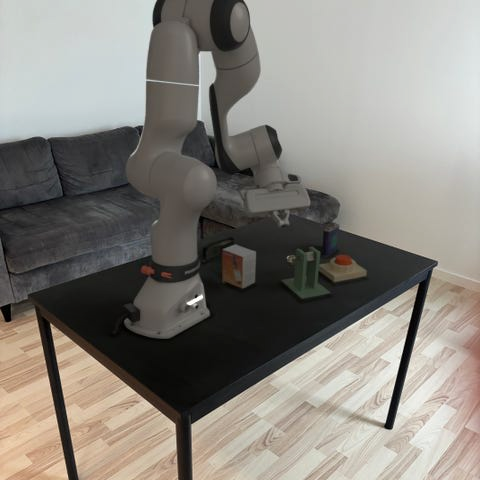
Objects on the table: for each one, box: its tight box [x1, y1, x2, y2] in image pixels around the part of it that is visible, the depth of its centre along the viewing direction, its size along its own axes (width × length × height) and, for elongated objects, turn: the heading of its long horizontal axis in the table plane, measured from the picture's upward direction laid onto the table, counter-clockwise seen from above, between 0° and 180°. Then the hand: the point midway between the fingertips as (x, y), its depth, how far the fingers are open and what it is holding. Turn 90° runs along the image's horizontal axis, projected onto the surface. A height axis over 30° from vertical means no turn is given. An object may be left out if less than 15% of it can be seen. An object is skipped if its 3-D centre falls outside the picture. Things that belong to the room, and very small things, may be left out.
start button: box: [335, 254, 352, 266], centre depth 140 cm, size 4×4×2 cm
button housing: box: [319, 257, 368, 283], centre depth 141 cm, size 11×9×4 cm
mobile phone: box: [202, 236, 235, 264], centre depth 154 cm, size 5×3×15 cm
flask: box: [321, 221, 340, 256], centre depth 155 cm, size 9×3×11 cm, turn 147°
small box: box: [221, 243, 257, 289], centre depth 134 cm, size 8×6×10 cm
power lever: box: [285, 251, 314, 267], centre depth 134 cm, size 13×3×3 cm, turn 22°
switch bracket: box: [280, 246, 331, 300], centre depth 131 cm, size 12×9×12 cm
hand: (284, 226), depth 139 cm, fingers closed
